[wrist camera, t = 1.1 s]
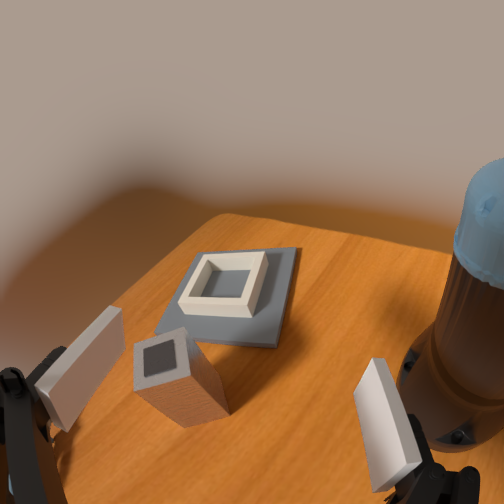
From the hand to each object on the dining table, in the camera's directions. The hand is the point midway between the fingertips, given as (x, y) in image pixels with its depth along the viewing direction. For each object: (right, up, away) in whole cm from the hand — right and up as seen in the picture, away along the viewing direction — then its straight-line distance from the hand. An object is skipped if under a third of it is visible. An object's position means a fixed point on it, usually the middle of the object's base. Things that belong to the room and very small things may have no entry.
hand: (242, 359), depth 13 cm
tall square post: (-5, -12, +16) cm, 20 cm away
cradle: (-3, -1, +29) cm, 29 cm away
